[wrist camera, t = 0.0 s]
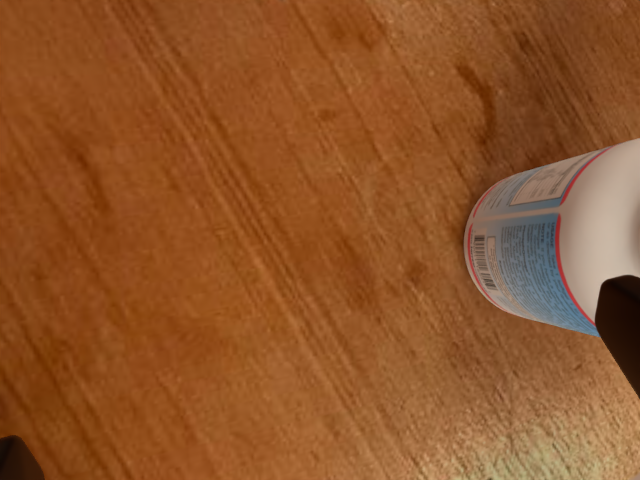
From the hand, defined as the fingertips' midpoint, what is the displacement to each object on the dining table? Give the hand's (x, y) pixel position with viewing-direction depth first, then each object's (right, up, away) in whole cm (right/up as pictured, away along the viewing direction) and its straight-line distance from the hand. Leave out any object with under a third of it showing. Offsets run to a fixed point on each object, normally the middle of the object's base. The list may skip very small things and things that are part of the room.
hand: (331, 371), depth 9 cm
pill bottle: (+9, +2, +15) cm, 18 cm away
